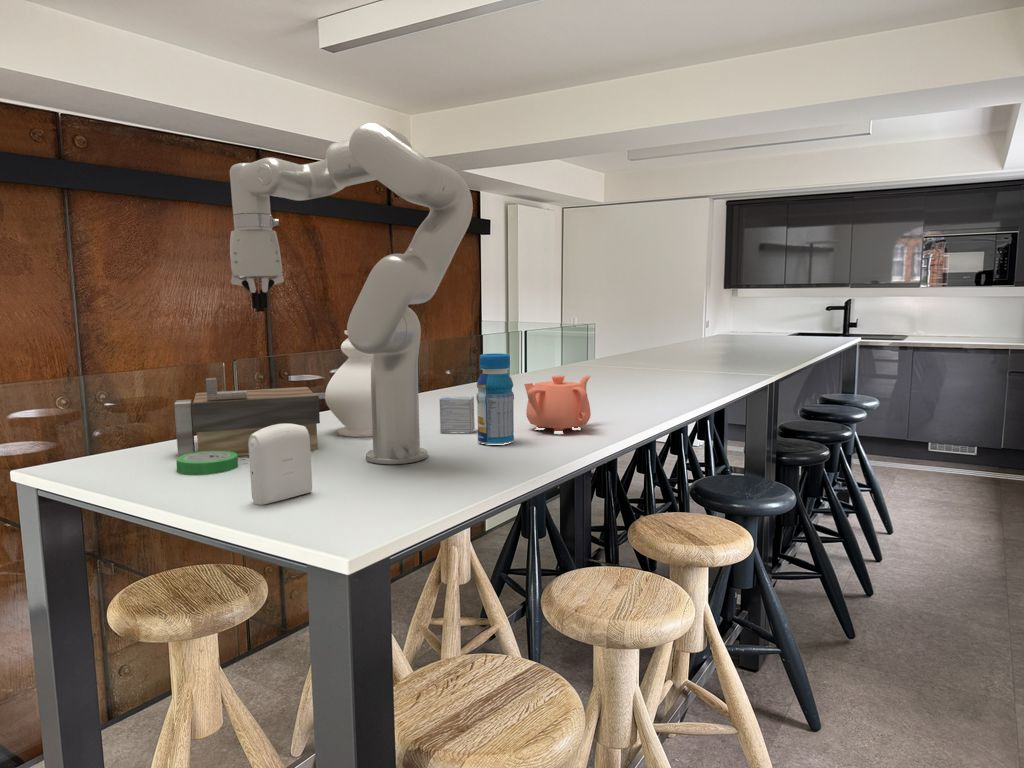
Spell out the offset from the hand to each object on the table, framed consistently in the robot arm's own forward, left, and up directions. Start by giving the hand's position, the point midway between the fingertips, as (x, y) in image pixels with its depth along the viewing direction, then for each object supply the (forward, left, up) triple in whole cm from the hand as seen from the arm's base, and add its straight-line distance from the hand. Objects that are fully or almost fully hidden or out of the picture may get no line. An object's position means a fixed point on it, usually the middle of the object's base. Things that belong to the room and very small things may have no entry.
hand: (260, 311), depth 154 cm
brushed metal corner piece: (+2, +8, -19) cm, 20 cm away
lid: (+5, +2, -24) cm, 25 cm away
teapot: (-5, -68, -30) cm, 75 cm away
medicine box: (+2, -44, -30) cm, 54 cm away
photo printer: (-41, 0, -30) cm, 51 cm away
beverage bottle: (-14, -48, -30) cm, 59 cm away
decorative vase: (+12, -23, -30) cm, 40 cm away
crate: (+6, +4, -30) cm, 31 cm away
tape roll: (-13, +12, -31) cm, 35 cm away
